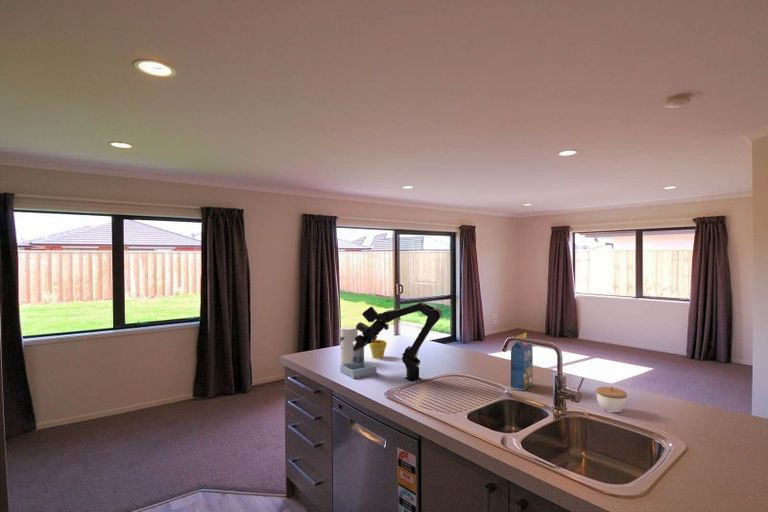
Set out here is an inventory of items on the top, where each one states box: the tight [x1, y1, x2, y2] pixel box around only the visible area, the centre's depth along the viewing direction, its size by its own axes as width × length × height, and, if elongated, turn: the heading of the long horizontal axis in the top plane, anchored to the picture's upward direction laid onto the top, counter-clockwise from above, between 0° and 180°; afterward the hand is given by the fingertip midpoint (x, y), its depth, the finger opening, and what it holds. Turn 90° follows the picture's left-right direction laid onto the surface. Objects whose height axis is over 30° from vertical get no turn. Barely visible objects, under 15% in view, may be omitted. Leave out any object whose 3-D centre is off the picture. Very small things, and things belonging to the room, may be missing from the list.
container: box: [340, 325, 359, 364], centre depth 231 cm, size 10×10×20 cm
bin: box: [339, 360, 378, 379], centre depth 208 cm, size 14×14×4 cm
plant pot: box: [369, 339, 387, 359], centre depth 239 cm, size 10×10×10 cm
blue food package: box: [510, 332, 534, 391], centre depth 186 cm, size 6×12×25 cm, turn 140°
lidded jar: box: [595, 386, 628, 412], centre depth 158 cm, size 11×11×9 cm
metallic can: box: [353, 340, 365, 363], centre depth 207 cm, size 6×6×12 cm
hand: (356, 348), depth 208 cm, fingers closed on metallic can, 6 cm apart
